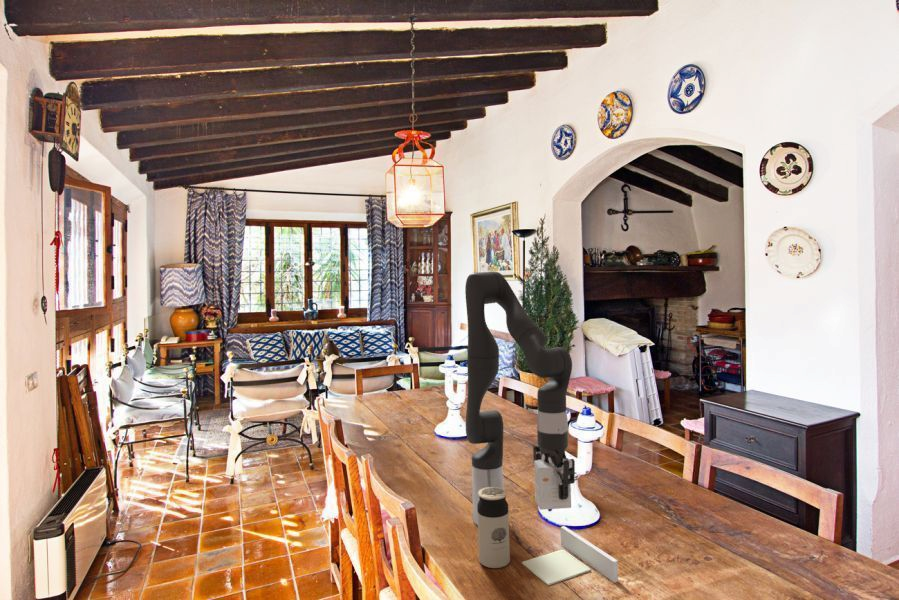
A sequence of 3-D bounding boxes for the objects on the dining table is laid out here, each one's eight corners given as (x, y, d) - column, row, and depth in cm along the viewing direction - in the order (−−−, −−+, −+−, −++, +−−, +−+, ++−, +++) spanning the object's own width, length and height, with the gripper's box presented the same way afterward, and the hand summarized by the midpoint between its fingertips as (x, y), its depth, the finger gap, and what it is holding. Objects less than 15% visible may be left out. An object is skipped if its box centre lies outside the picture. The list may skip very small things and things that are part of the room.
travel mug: (477, 553, 137) (475, 487, 137) (506, 551, 138) (504, 485, 137) (481, 570, 129) (479, 499, 129) (512, 568, 130) (510, 497, 129)
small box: (565, 499, 132) (564, 458, 132) (571, 508, 127) (570, 466, 126) (534, 500, 132) (533, 459, 132) (539, 510, 126) (538, 467, 126)
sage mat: (521, 563, 132) (521, 561, 132) (562, 550, 138) (562, 549, 137) (548, 585, 122) (548, 584, 122) (591, 570, 128) (590, 569, 128)
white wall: (561, 545, 140) (560, 527, 140) (564, 544, 141) (564, 526, 141) (614, 582, 122) (613, 561, 122) (618, 581, 123) (617, 560, 123)
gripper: (523, 423, 133) (525, 486, 134) (558, 437, 120) (559, 507, 121) (547, 419, 137) (548, 480, 137) (583, 432, 124) (584, 500, 124)
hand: (553, 493), depth 129 cm, fingers closed on small box, 7 cm apart
